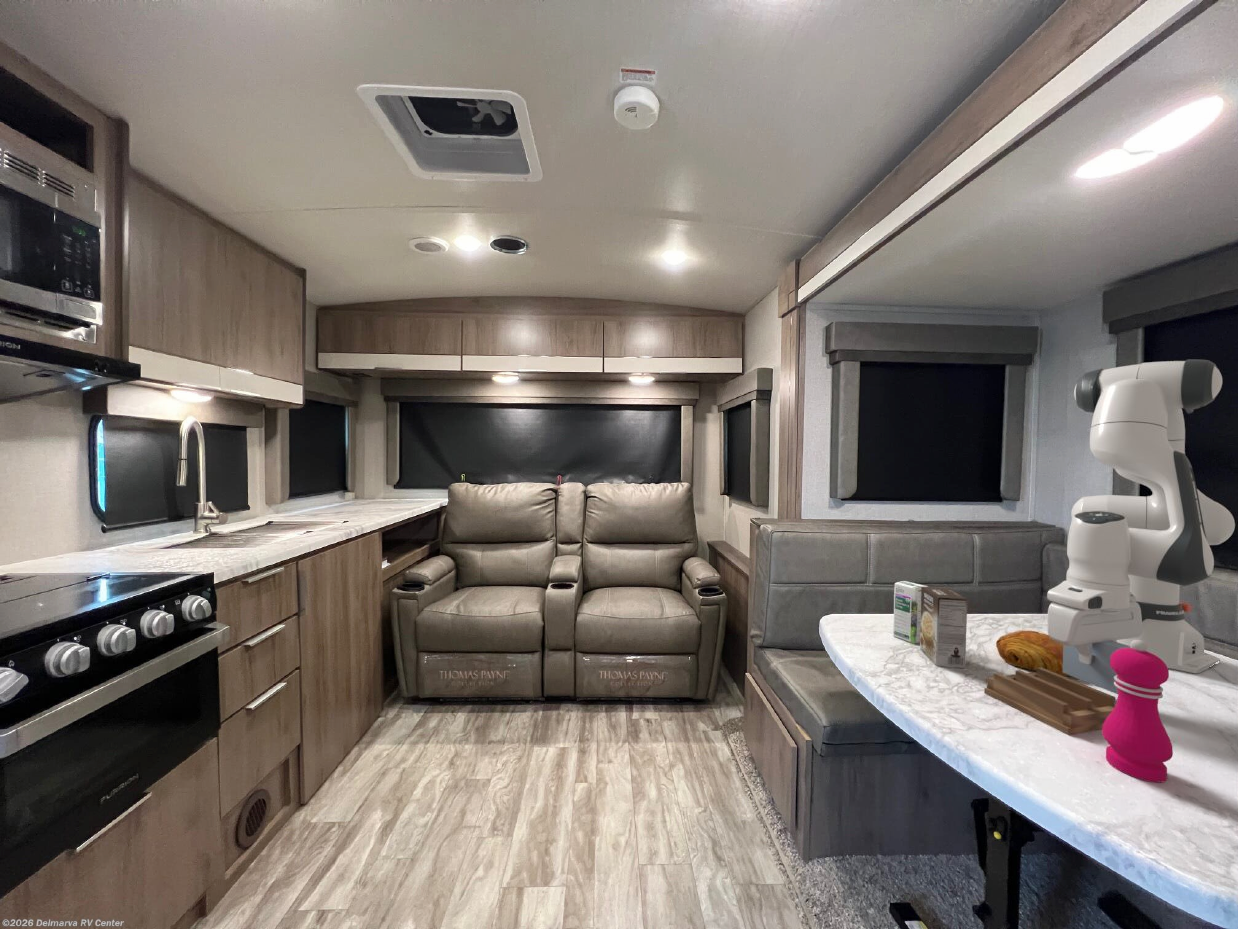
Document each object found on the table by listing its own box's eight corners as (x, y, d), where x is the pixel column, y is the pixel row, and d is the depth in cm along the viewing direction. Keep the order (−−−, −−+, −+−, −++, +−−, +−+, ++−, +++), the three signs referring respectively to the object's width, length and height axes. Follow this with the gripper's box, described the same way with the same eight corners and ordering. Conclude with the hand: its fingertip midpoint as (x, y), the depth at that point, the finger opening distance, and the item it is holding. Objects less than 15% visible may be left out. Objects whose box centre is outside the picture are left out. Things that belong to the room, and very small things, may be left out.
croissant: (984, 664, 112) (980, 632, 111) (1027, 647, 116) (1024, 617, 116) (1056, 692, 98) (1052, 655, 98) (1101, 672, 103) (1098, 637, 102)
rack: (1036, 685, 97) (1037, 664, 96) (1126, 724, 83) (1126, 700, 82) (984, 692, 93) (984, 671, 93) (1067, 734, 79) (1068, 709, 79)
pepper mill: (1088, 754, 74) (1091, 631, 74) (1128, 752, 75) (1132, 630, 74) (1142, 786, 67) (1147, 650, 67) (1186, 784, 67) (1191, 649, 67)
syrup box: (892, 636, 123) (893, 582, 122) (905, 632, 125) (906, 580, 125) (914, 644, 118) (915, 588, 117) (927, 640, 120) (928, 585, 120)
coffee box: (918, 649, 114) (919, 585, 114) (947, 652, 113) (948, 587, 113) (935, 666, 105) (937, 596, 105) (967, 669, 104) (969, 598, 104)
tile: (1073, 670, 97) (1074, 628, 97) (1129, 692, 88) (1130, 646, 88) (1062, 672, 96) (1063, 630, 96) (1117, 694, 88) (1119, 648, 87)
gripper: (1114, 585, 97) (1112, 649, 98) (1040, 592, 93) (1039, 660, 93) (1155, 594, 91) (1153, 663, 91) (1078, 602, 86) (1076, 674, 87)
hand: (1094, 661), depth 92 cm, fingers closed on tile, 3 cm apart
